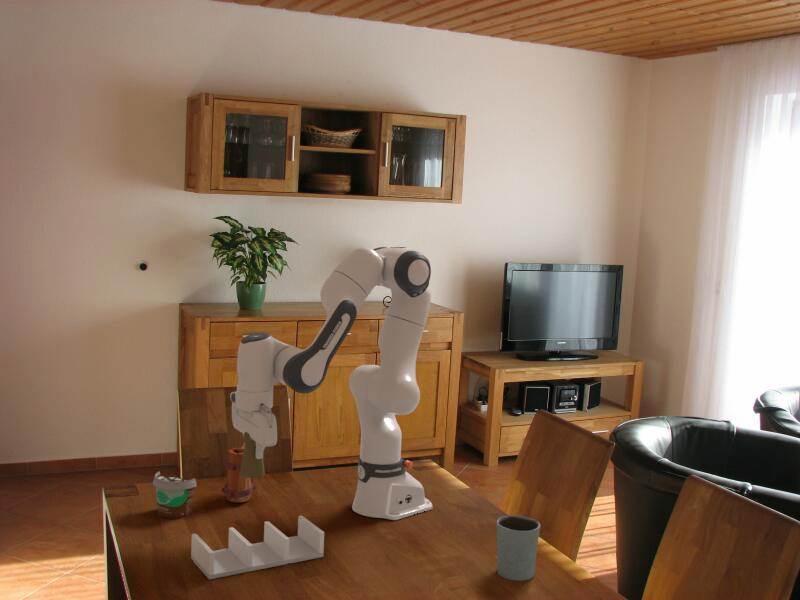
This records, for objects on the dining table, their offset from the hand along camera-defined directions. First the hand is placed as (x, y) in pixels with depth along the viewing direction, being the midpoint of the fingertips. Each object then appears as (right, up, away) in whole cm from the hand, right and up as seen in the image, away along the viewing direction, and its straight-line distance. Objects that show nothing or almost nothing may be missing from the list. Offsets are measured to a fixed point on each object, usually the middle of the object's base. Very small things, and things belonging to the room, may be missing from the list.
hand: (253, 454), depth 216 cm
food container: (-24, -18, +12) cm, 33 cm away
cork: (0, -5, 0) cm, 5 cm away
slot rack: (+3, -22, -12) cm, 25 cm away
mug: (-8, -17, +28) cm, 34 cm away
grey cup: (+63, -25, -13) cm, 69 cm away
